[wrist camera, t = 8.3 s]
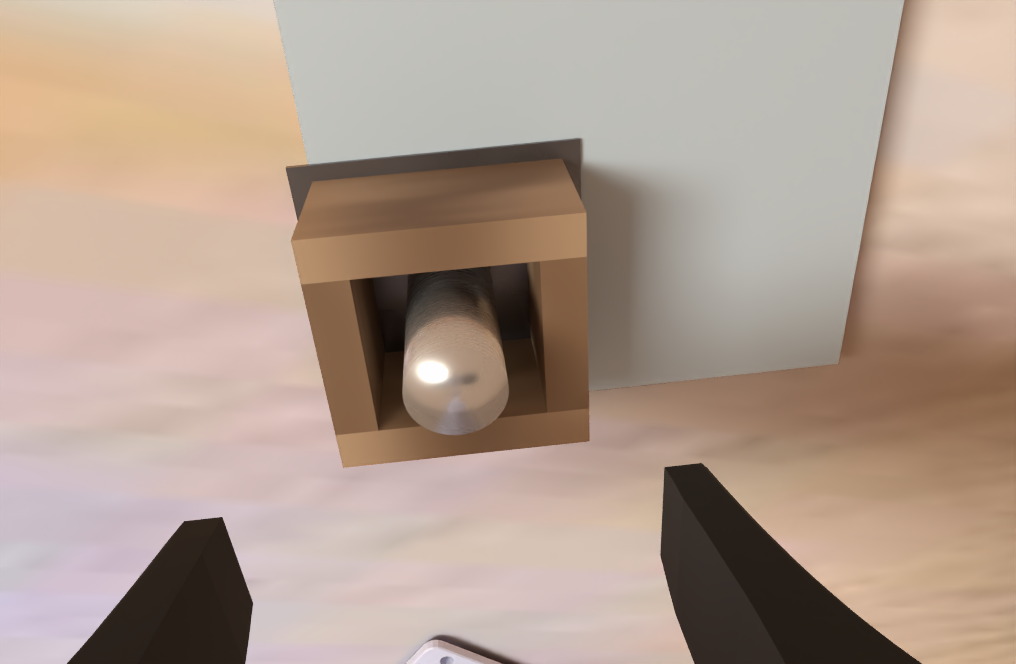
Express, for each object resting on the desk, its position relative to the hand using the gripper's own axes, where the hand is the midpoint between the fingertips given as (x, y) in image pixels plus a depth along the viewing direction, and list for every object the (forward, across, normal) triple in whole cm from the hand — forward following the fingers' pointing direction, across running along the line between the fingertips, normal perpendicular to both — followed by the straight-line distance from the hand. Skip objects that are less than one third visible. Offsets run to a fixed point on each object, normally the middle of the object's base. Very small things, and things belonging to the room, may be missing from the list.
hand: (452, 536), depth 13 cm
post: (+10, 0, 0) cm, 10 cm away
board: (+10, -4, -2) cm, 11 cm away
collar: (+9, 0, 0) cm, 9 cm away
